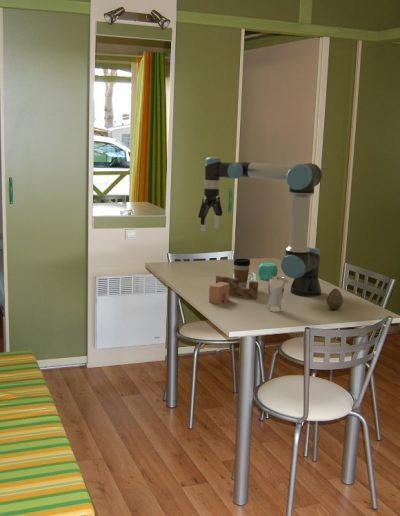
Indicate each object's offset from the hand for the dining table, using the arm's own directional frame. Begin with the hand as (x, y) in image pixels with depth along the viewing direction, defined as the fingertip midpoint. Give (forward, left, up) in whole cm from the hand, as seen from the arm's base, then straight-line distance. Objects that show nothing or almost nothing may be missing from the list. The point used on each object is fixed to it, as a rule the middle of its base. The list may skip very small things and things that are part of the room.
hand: (210, 229), depth 354 cm
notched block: (-23, +29, -28) cm, 46 cm away
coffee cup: (-19, 0, -28) cm, 34 cm away
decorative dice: (-20, -29, -28) cm, 45 cm away
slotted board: (-24, +14, -28) cm, 39 cm away
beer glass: (-51, +27, -28) cm, 64 cm away
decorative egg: (-72, +8, -28) cm, 78 cm away
